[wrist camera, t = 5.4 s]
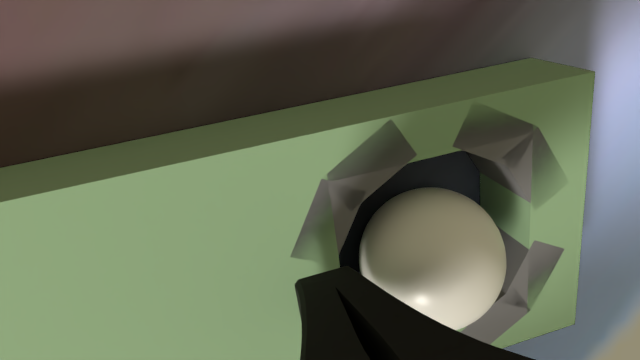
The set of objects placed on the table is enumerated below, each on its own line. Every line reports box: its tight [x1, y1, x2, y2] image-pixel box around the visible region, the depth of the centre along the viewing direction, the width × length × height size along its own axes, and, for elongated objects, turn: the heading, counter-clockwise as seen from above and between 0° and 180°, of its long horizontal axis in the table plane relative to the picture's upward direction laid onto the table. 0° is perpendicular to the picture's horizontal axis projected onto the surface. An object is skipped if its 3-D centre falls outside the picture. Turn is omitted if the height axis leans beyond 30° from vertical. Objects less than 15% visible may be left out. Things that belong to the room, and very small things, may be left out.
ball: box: [359, 187, 506, 330], centre depth 14 cm, size 4×4×4 cm
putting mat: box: [0, 58, 595, 360], centre depth 14 cm, size 8×20×2 cm, turn 97°
